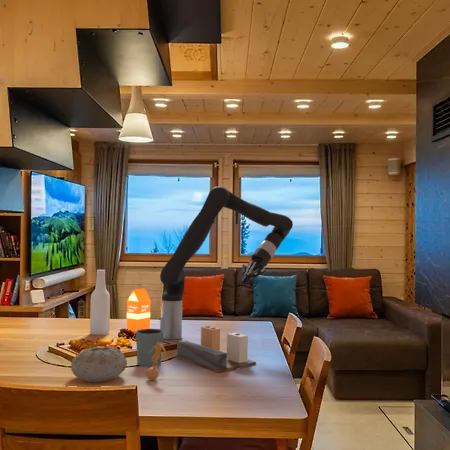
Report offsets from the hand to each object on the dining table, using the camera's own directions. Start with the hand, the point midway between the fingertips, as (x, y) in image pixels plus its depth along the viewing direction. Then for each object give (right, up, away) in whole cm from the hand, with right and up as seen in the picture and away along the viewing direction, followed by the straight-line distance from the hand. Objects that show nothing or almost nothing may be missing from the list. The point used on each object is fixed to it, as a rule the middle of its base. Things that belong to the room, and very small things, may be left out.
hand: (242, 283), depth 200 cm
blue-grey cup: (-35, -27, -21) cm, 49 cm away
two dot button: (-13, -26, -7) cm, 30 cm away
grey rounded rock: (-49, -27, -40) cm, 68 cm away
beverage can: (-37, -28, +54) cm, 71 cm away
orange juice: (-50, -28, +40) cm, 70 cm away
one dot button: (-3, -26, -20) cm, 33 cm away
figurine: (-30, -27, -40) cm, 57 cm away
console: (-11, -27, -16) cm, 34 cm away
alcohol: (-66, -27, +29) cm, 77 cm away
